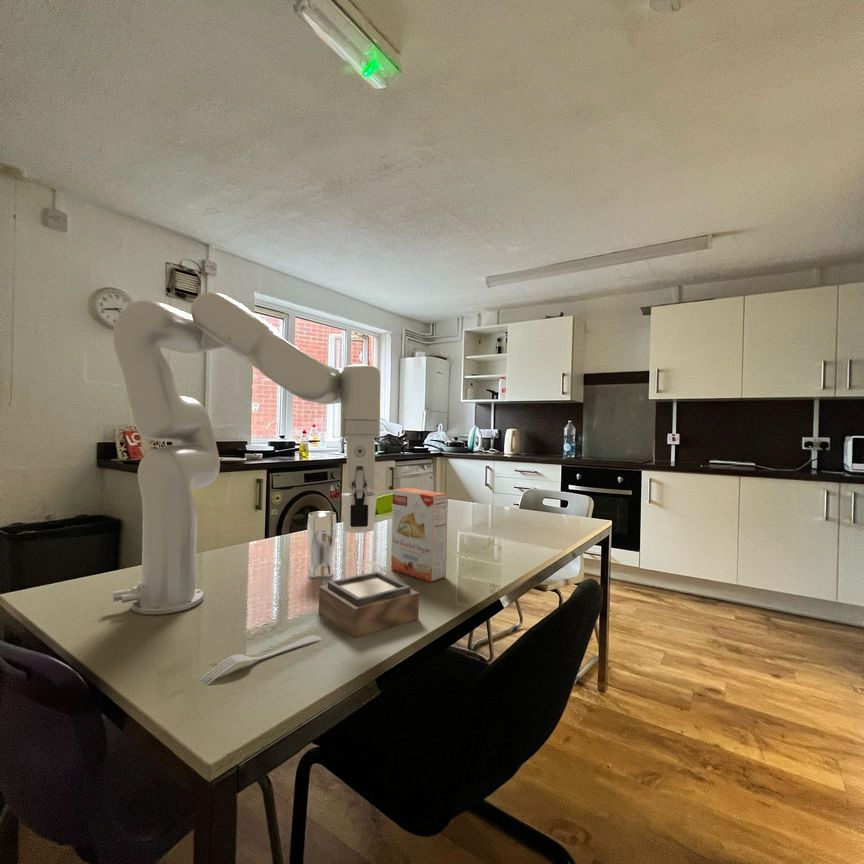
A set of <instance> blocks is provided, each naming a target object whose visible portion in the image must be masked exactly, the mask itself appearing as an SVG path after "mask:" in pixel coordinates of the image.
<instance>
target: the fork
mask: <svg viewBox="0 0 864 864" xmlns="http://www.w3.org/2000/svg"><path fill="white" fill-rule="evenodd" d="M320 641H323V638H322V637H320V636H318V635H309V636H305V637H303V638H301V639H298V640H296V641H294V642H292V643H290V644H288V645H285V646H283V647H281V648H278V649H276V650H274V651H271V652H268V653H266V654H263V655H260V656H256V657H255V656H253V657H250V656H247V655H245V654H233V655H231V656H228V657H227V658H226V659H224V660H222V661H221V662H219V663H218V664H217V665H216V666H215V667H214V668H213V667H212V669H211V670H210V671H208V672H207V673H206V674H205V675H204V676H203V677H202V678H200V680H199V682H200V683H202V684H203V685H204V686H209V685H210V683H212V682H213V681H215V680H216V679H217V678H219V677H220V676H221V675H223V674H224V673H226V672H227V671H229V670H230V669H231V668H233V667H235V666H236V665H238V664H241V663H244V662H245V663H247V662H252V661H259V660H264V659H268V658H271V657H273V656H274V657H275V656H276V655H279V654H282V653H285V652H287V651H288V652H289V651H290V650H293V649H296V648H300V647H302V646H306V645H311V644H314V643H317V642H320Z"/></svg>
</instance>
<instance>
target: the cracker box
mask: <svg viewBox="0 0 864 864" xmlns="http://www.w3.org/2000/svg"><path fill="white" fill-rule="evenodd" d="M448 499H449V494H448V493H443V492H436V491H431V490H424V489H418V488H414V487H413V488H411V487H403V488H402V487H401V488H395V489H392V528H391V557H390V559H391V563H390V564H391V565H390V566H391V567H390V568H391V570H393V571H397V572H399V573H401V574H402V573H403V574H405V575H408V576H412V577H414V578H417V579H420V580H422V581H427V582H428V583H432V582H435V581H438V580H441V579H444V578H446V577H447V546H448V545H447V543H448V542H447V540H448V509H449V508H448V506H449V505H448V503H449V500H448Z"/></svg>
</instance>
